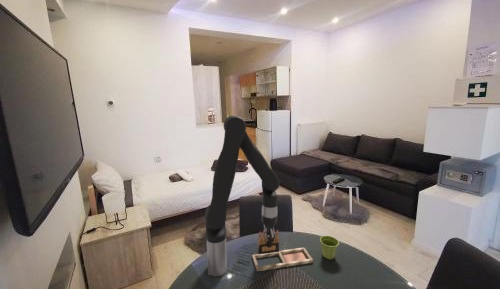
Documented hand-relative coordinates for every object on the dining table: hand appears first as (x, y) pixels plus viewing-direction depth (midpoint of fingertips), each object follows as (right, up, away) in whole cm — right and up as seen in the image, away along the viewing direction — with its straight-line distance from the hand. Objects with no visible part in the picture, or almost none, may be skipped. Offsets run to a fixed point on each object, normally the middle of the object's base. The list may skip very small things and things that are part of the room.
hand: (268, 245), depth 116 cm
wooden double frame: (+7, -9, +3) cm, 12 cm away
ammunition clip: (0, -4, +1) cm, 4 cm away
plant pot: (+32, -8, +6) cm, 34 cm away
